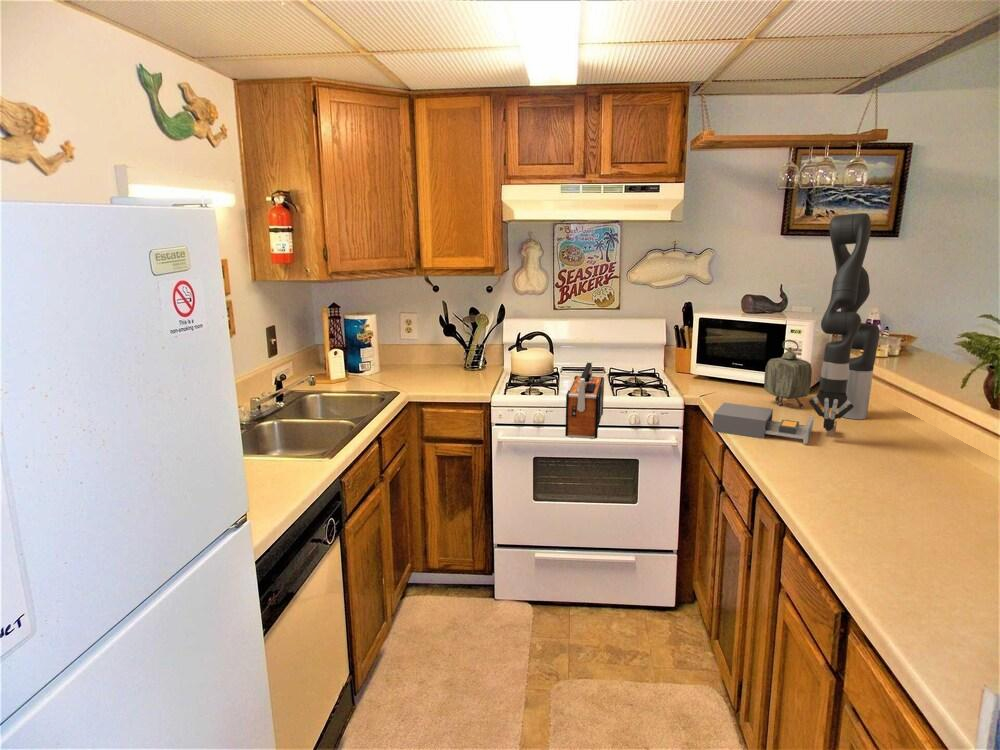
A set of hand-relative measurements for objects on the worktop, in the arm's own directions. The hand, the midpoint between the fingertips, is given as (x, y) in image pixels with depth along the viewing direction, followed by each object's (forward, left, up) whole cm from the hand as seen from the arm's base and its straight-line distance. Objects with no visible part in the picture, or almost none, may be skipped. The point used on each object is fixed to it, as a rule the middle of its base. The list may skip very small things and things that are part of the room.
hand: (828, 429), depth 202 cm
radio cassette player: (+26, -71, -4) cm, 76 cm away
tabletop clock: (-38, -17, -4) cm, 42 cm away
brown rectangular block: (-8, +1, -4) cm, 9 cm away
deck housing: (0, -25, -4) cm, 26 cm away
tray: (0, -13, -3) cm, 13 cm away
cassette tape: (0, -11, -2) cm, 11 cm away
